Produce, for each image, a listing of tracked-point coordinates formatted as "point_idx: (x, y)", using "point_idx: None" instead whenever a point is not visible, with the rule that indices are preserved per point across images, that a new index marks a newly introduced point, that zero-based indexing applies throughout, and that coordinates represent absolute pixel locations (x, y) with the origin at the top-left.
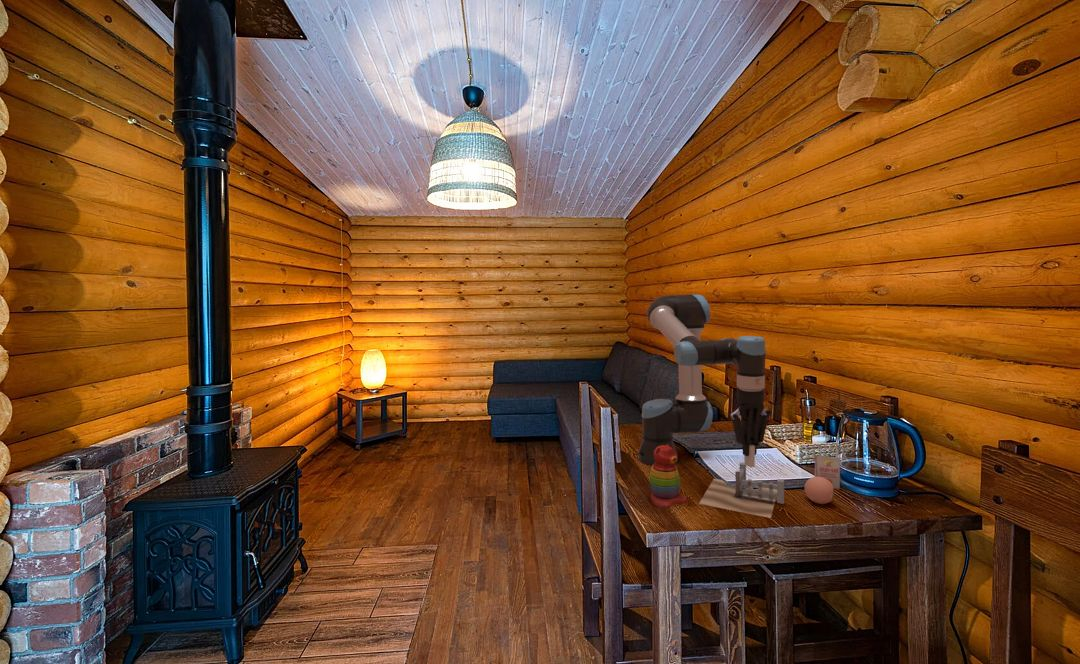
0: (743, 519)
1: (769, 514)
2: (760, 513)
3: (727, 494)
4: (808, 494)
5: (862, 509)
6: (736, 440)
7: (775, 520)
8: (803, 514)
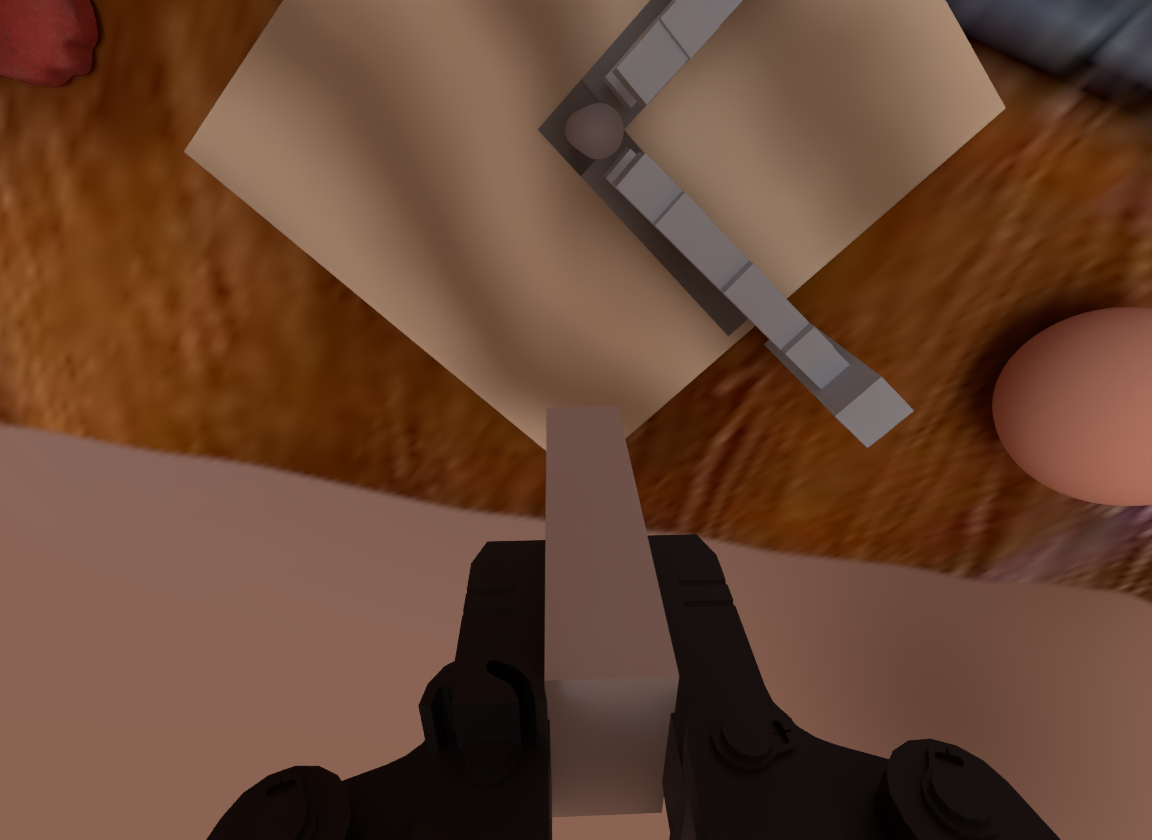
0: (426, 426)
1: None
2: None
3: (520, 55)
4: (1006, 396)
5: None
6: (213, 833)
7: None
8: (803, 464)
